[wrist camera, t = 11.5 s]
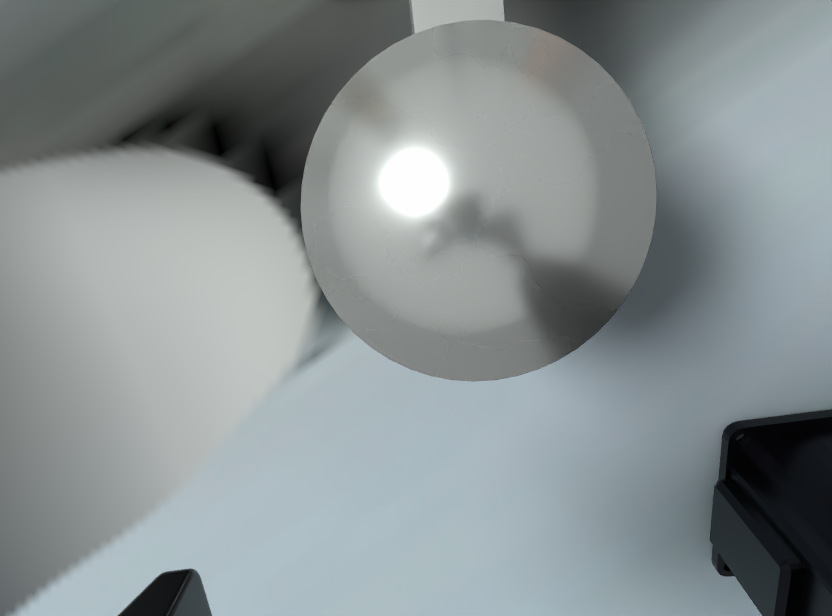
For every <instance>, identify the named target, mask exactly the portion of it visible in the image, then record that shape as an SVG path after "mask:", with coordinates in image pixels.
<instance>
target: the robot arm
mask: <svg viewBox="0 0 832 616" xmlns="http://www.w3.org/2000/svg"><path fill="white" fill-rule="evenodd" d="M742 434H743V436H742V437H741V438H740V439H738V440H736V438H737V437H738V436H739V435H742ZM710 541H711V543H712V544H713V550H712V564H713V565H714V567H715V568H716V570H717V571H718V573H719V574H720V575H722V576H735V577H736V578H737V580H738V581H739V583H740V584H741V586H742V587H743V589H744V590H745V591H746V593H747V594H748V596H749V597H750V599H751V600H752V601H753V603H754V604H755V606H756V607H757V609H758V610H759V611H760V613H761V614H762V616H832V410H825V411H817V412H809V413H801V414H793V415H785V416H777V417H769V418H761V419H753V420H745V421H737V422H734V423H732V424H730V425H729V426H727V427H726V429H725V430H724V432H723V435H722V446H721V457H720V469H719V480H718V481H717V483H716V485H715V487H714V496H713V508H712V520H711V532H710ZM118 616H212V614H211V611H210V607H209V604H208V601H207V597H206V594H205V591H204V587H203V584H202V581H201V578H200V575H199V574H198V572H197V571H196V570H194V569H183V570H175V571H167V572H164V573H162V574H160V575H159V576H158V577H156V578H155V579H154V580H153V581H152V582H151V583H150V584H149V585H148V586H147V587H146V588H145V589H144V590H143V591H142V592H141V593H140V594H139V595H138V596H137V597H136V598H135V599H134V600H133V601H132V602H131V603H130V604H129V605H128V606H127V607H126V608H125V609H124V610H123V611H122V612H121V613H120V614H119V615H118Z"/></svg>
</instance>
